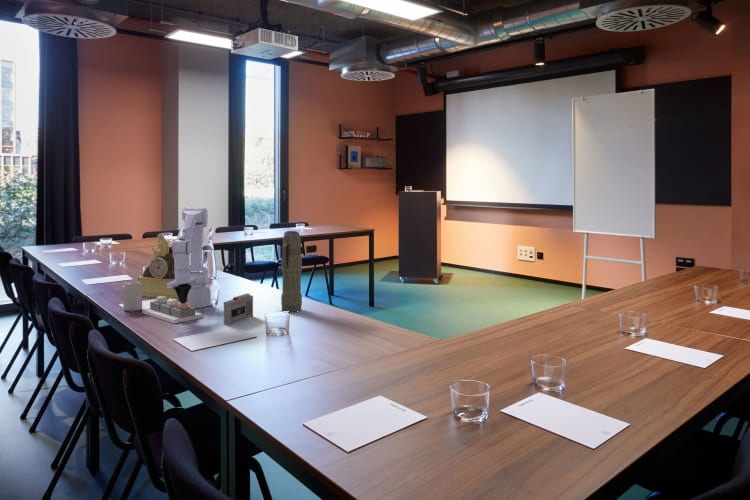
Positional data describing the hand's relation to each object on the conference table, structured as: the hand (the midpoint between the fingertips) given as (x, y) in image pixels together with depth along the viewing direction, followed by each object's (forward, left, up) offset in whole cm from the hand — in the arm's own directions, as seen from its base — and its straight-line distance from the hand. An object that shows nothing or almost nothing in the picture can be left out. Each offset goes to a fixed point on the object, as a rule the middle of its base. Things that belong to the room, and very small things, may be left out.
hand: (182, 302), depth 220 cm
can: (+6, -29, -7) cm, 30 cm away
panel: (0, -8, -7) cm, 10 cm away
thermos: (-40, +21, -7) cm, 46 cm away
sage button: (0, -16, -3) cm, 16 cm away
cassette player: (-14, +18, -7) cm, 24 cm away
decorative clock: (-19, -48, -7) cm, 52 cm away
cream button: (0, -8, -3) cm, 9 cm away
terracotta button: (0, 0, -3) cm, 3 cm away
